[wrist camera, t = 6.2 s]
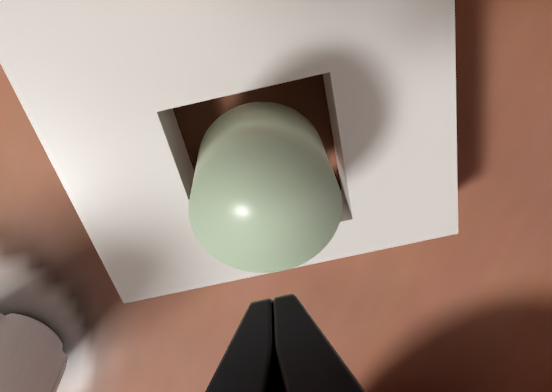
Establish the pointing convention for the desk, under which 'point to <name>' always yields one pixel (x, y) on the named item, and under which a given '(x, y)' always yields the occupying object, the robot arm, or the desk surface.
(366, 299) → the desk surface
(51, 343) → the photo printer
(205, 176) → the sage button
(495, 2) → the desk surface
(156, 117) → the button console
